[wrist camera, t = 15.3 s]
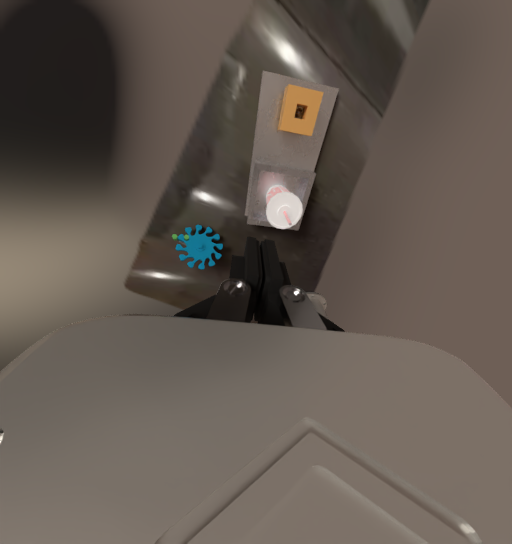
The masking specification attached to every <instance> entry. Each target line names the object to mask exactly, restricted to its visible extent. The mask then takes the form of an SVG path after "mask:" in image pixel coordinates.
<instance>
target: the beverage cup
mask: <svg viewBox="0 0 512 544" xmlns="http://www.w3.org/2000/svg"><path fill="white" fill-rule="evenodd" d="M266 202H267V208H266V215H267V219H268V221H269V222H270V224H271V225H272V226H274V227H276V228H279V229H286V228H290V227H292V226H293V225H295V224H296V223H297V222H298V221H299V219H300V218H301V215H302V212H303V208H302V203H301V201H300V199H299V198H298V197H297V196H296V195H294V194H293V193H290V192H289V191H288V190H287V189H286V188H285V187H283V186H282V185H275V186H273V187H271V188H270V189H269V190H268V192H267V195H266Z"/></svg>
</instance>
